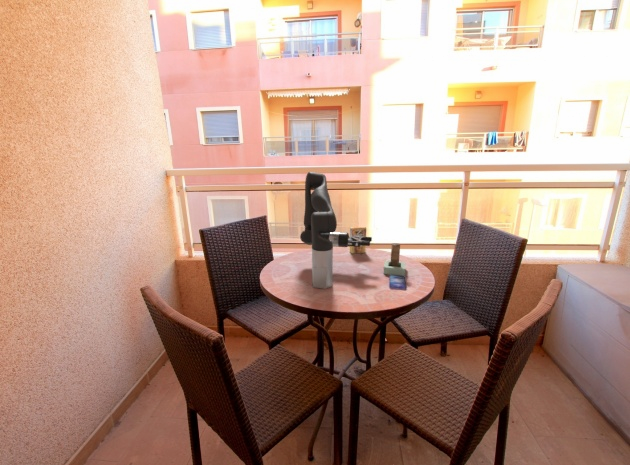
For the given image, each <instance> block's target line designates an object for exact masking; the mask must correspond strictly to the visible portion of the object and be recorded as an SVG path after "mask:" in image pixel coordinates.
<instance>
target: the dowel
mask: <svg viewBox="0 0 630 465" xmlns="http://www.w3.org/2000/svg"><path fill="white" fill-rule="evenodd" d="M390 248H391V253H390V261H391V264H390V266H391V267H399V262H400V252H401V244H400V243H395V242H394V243H391V247H390Z"/></svg>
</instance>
